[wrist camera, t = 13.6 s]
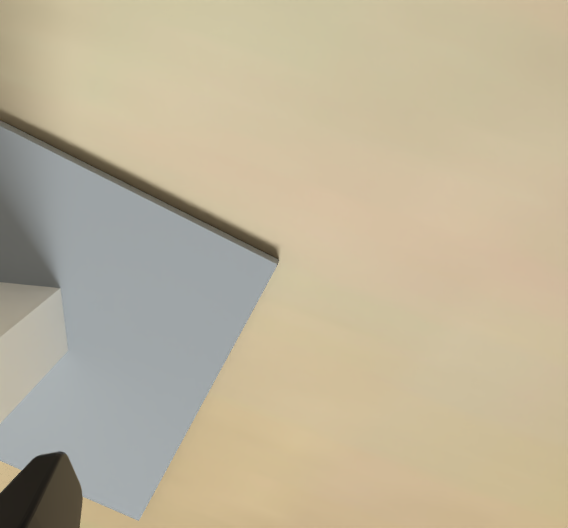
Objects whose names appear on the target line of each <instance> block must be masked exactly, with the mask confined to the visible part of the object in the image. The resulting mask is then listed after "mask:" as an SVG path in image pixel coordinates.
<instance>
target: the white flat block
mask: <svg viewBox="0 0 568 528" xmlns="http://www.w3.org/2000/svg"><path fill="white" fill-rule="evenodd" d="M67 351H68V345H67V337H66V329H65V321H64V313H63V305H62V297H61V288H54V287H44V286H34V285H24V284H13V283H3V282H0V423H1V422H2V421H3V420H4V419H5V418H6V417H7V416H8V415H9V414H10V412H11V411H12V410H13V409H14V408H15V407H16V406H17V405H18V404H19V403H20V402H21V401H22V400H23V399H24V397H25V396H26V395H27V394H28V393H29V392H30V391H31V390H32V389H33V388H34V387H35V386H36V385H37V383H38V382H39V381H40V380H41V379H42V378H43V377H44V376H45V375H46V374H47V373H48V372H49V371H50V369H51V368H52V367H53V366H54V365H55V364H56V363H57V362H58V361H59V360H60V359H61V358H62V357H63V356H64V354H65V353H66V352H67Z"/></svg>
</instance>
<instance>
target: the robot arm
mask: <svg viewBox="0 0 568 528" xmlns="http://www.w3.org/2000/svg"><path fill="white" fill-rule="evenodd" d="M81 509H82V488H81V485H80V482H79V480H78V478H77V475H76V473H75V471H74V469H73V466H72V464H71V462H70V459H69V457H68V456H67V454H66V453H65V452H61V451H58V452H53V453H47V454H41V455H38V456H36V457H35V458H33V459H32V460H31V461H30V462H29V463H28V464H27V465H26V466H25V468H24V469H23V470H22V471H21V472H20V473H19V474H18V475H17V476H16V477H15V478H14V479H13V480H12V481H11V482H10V483H9V484H8V486H7V487H6V488H5V489H4V490H3V491H2V492H1V493H0V528H80V519H81Z"/></svg>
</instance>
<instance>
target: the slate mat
mask: <svg viewBox="0 0 568 528" xmlns="http://www.w3.org/2000/svg"><path fill="white" fill-rule="evenodd" d="M278 262H279V260H278V259H276V258H274V257H272V256H270V255H268V254H266V253H264V252H262V251H260V250H258V249H256V248H254V247H252V246H250V245H248V244H246V243H244V242H242V241H240V240H238V239H236V238H234V237H232V236H230V235H228V234H226V233H224V232H222V231H220V230H218V229H216V228H214V227H212V226H210V225H208V224H206V223H204V222H202V221H200V220H198V219H196V218H194V217H192V216H190V215H188V214H186V213H184V212H182V211H180V210H178V209H176V208H174V207H172V206H170V205H168V204H167V203H165V202H163V201H161V200H159V199H157V198H155V197H153V196H151V195H149V194H147V193H145V192H143V191H141V190H139V189H137V188H135V187H133V186H131V185H129V184H127V183H125V182H123V181H121V180H119V179H117V178H115V177H113V176H111V175H109V174H107V173H105V172H103V171H101V170H99V169H97V168H95V167H93V166H91V165H89V164H87V163H85V162H83V161H81V160H79V159H77V158H75V157H73V156H71V155H69V154H67V153H65V152H63V151H61V150H59V149H57V148H55V147H53V146H51V145H49V144H47V143H45V142H43V141H41V140H39V139H37V138H35V137H33V136H31V135H29V134H27V133H25V132H23V131H21V130H19V129H17V128H15V127H13V126H11V125H9V124H7V123H5V122H3V121H1V120H0V282H3V283H13V284H24V285H34V286H44V287H54V288H61V297H62V305H63V313H64V321H65V329H66V337H67V345H68V351H67V352H66V353H65V354H64V356H63V357H62V358H61V359H60V360H59V361H58V362H57V363H56V364H55V365H54V366H53V367H52V368H51V369H50V371H49V372H48V373H47V374H46V375H45V376H44V377H43V378H42V379H41V380H40V381H39V382H38V383H37V385H36V386H35V387H34V388H33V389H32V390H31V391H30V392H29V393H28V394H27V395H26V396H25V397H24V399H23V400H22V401H21V402H20V403H19V404H18V405H17V406H16V407H15V408H14V409H13V410H12V411H11V412H10V414H9V415H8V416H7V417H6V418H5V419H4V420H3V421H2V422H1V423H0V461H2V462H4V463H7V464H9V465H11V466H13V467H16V468H18V469H20V470H23V469H24V468H25V466H26V465H27V464H28V463H29V462H30V461H31V460H32V459H33V458H35V457H36V456H38V455H41V454H47V453H53V452H58V451H61V452H65V453H66V454H67V456H68V457H69V459H70V462H71V464H72V466H73V469H74V471H75V473H76V475H77V478H78V480H79V482H80V485H81V488H82V496H83V497H85V498H87V499H90V500H92V501H94V502H97V503H99V504H101V505H103V506H106V507H108V508H110V509H113V510H115V511H117V512H120V513H122V514H124V515H127V516H129V517H131V518H133V519H136V520H138V521H139V519H140V518H141V516H142V514H143V512H144V510H145V508H146V506H147V505H148V503H149V501H150V499H151V497H152V495H153V494H154V492H155V490H156V488H157V486H158V484H159V483H160V481H161V479H162V477H163V475H164V473H165V471H166V470H167V468H168V466H169V464H170V462H171V460H172V459H173V457H174V455H175V453H176V451H177V449H178V447H179V446H180V444H181V442H182V440H183V438H184V436H185V435H186V433H187V431H188V429H189V427H190V425H191V423H192V422H193V420H194V418H195V416H196V414H197V412H198V411H199V409H200V407H201V405H202V403H203V401H204V400H205V398H206V396H207V394H208V392H209V390H210V388H211V387H212V385H213V383H214V381H215V379H216V377H217V376H218V374H219V372H220V370H221V368H222V366H223V364H224V363H225V361H226V359H227V357H228V355H229V353H230V352H231V350H232V348H233V346H234V344H235V342H236V341H237V339H238V337H239V335H240V333H241V331H242V329H243V328H244V326H245V324H246V322H247V320H248V318H249V317H250V315H251V313H252V311H253V309H254V307H255V305H256V304H257V302H258V300H259V298H260V296H261V294H262V293H263V291H264V289H265V287H266V285H267V283H268V282H269V280H270V278H271V276H272V274H273V272H274V270H275V269H276V267H277V265H278Z"/></svg>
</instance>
